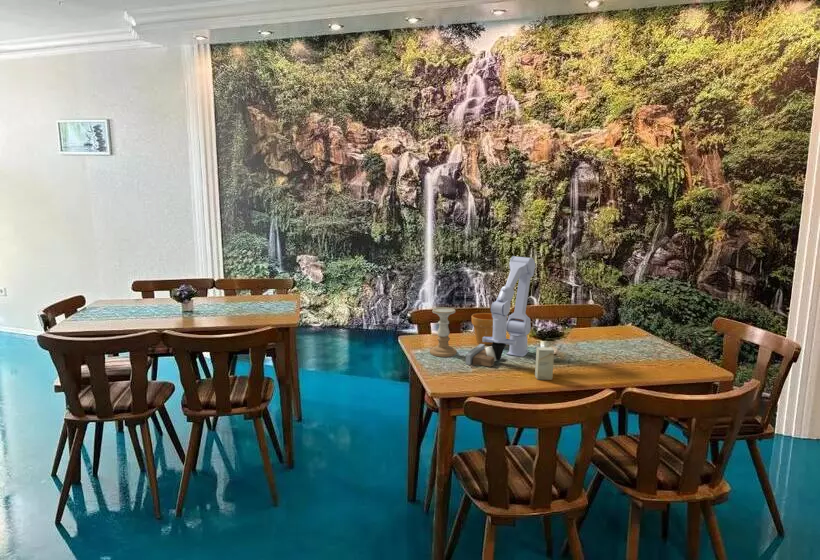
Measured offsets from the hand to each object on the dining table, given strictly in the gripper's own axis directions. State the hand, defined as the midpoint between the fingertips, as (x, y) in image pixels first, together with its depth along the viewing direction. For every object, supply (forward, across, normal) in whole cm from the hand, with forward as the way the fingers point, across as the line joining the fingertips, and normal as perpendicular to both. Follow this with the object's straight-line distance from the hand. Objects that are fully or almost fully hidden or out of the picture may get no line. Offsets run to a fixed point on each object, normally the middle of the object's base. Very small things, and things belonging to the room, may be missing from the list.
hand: (498, 359), depth 254 cm
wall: (+1, -11, 0) cm, 11 cm away
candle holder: (+2, -27, +2) cm, 27 cm away
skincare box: (+2, +22, -10) cm, 24 cm away
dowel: (+1, -2, 0) cm, 3 cm away
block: (+1, -5, 0) cm, 5 cm away
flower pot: (+2, -16, +28) cm, 32 cm away
